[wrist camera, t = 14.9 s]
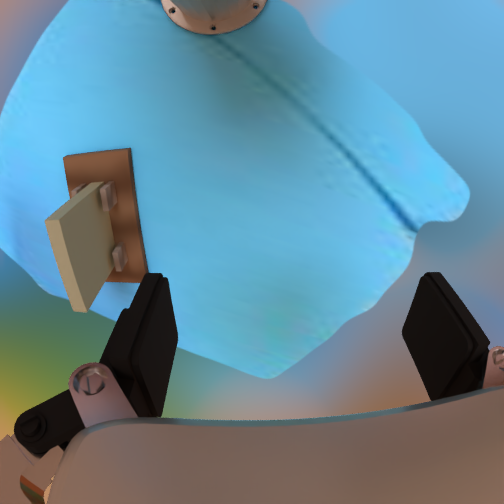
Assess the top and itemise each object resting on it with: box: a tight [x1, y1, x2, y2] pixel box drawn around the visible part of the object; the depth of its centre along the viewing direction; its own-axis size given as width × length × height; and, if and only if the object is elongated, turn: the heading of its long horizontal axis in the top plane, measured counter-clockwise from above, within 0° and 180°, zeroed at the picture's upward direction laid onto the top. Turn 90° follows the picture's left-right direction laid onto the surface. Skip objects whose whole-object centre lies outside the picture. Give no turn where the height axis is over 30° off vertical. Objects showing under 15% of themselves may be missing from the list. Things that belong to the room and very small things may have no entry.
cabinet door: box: [45, 182, 116, 312], centre depth 36 cm, size 12×3×12 cm, turn 0°
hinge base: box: [63, 148, 149, 283], centre depth 40 cm, size 20×10×4 cm, turn 0°
